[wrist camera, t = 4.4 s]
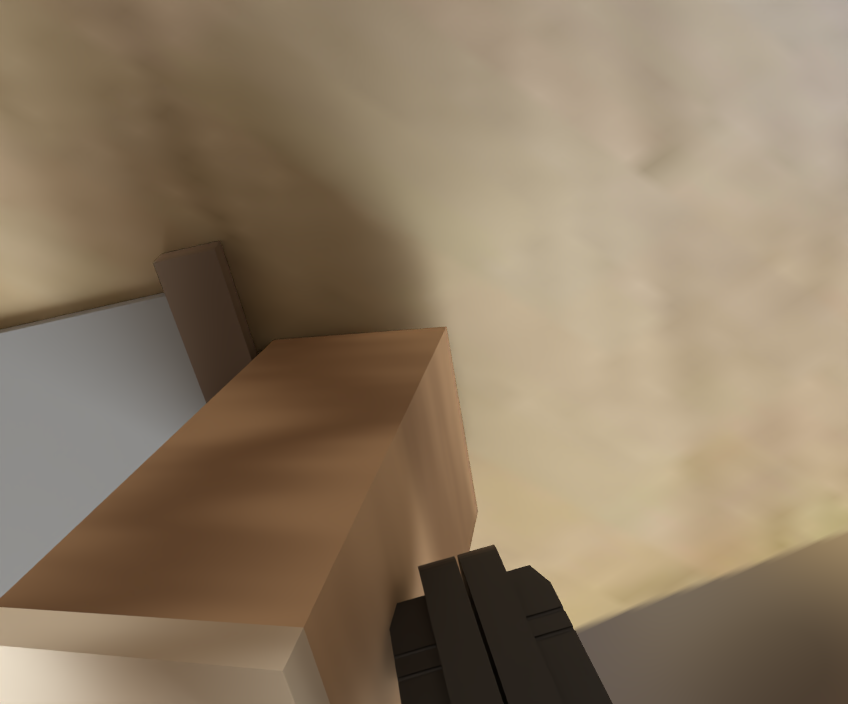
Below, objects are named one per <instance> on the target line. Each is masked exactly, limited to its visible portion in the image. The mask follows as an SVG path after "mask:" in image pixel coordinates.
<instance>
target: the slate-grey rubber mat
mask: <svg viewBox="0 0 848 704" xmlns="http://www.w3.org/2000/svg"><path fill="white" fill-rule="evenodd" d="M205 404H206V401H205V399H204V396H203V394H202V391H201V388H200V386H199V383H198V380H197V378H196V375H195V372H194V370H193V367H192V365H191V362H190V359H189V357H188V354H187V351H186V349H185V346H184V343H183V341H182V338H181V336H180V333H179V330H178V328H177V325H176V322H175V320H174V317H173V314H172V312H171V309H170V307H169V304H168V301H167V299H166V296H165V293H160V294H156V295H151V296H147V297H142V298H138V299H134V300H129V301H125V302H120V303H116V304H111V305H107V306H103V307H98V308H94V309H89V310H85V311H81V312H76V313H72V314H67V315H63V316H58V317H54V318H50V319H45V320H41V321H36V322H32V323H28V324H23V325H19V326H14V327H10V328H5V329H1V330H0V598H1V597H2V596H3V595H4V594H5V593H6V592H7V591H8V590H9V589H10V588H11V587H12V586H14V585H15V584H16V583H17V582H18V581H19V580H20V579H21V578H22V577H23V576H24V575H25V574H26V573H27V572H28V571H29V570H31V569H32V568H33V567H34V566H35V565H36V564H37V563H38V562H39V561H40V560H41V559H42V558H43V557H44V556H45V555H46V554H47V553H49V552H50V551H51V550H52V549H53V548H54V547H55V546H56V545H57V544H58V543H59V542H60V541H61V540H62V539H63V538H64V537H65V536H67V535H68V534H69V533H70V532H71V531H72V530H73V529H74V528H75V527H76V526H77V525H78V524H79V523H80V522H81V521H82V520H83V519H85V518H86V517H87V516H88V515H89V514H90V513H91V512H92V511H93V510H94V509H95V508H96V507H97V506H98V505H99V504H100V503H102V502H103V501H104V500H105V499H106V498H107V497H108V496H109V495H110V494H111V493H112V492H113V491H114V490H115V489H116V488H117V487H118V486H120V485H121V484H122V483H123V482H124V481H125V480H126V479H127V478H128V477H129V476H130V475H131V474H132V473H133V472H134V471H135V470H136V469H138V468H139V467H140V466H141V465H142V464H143V463H144V462H145V461H146V460H147V459H148V458H149V457H150V456H151V455H152V454H153V453H154V452H156V451H157V450H158V449H159V448H160V447H161V446H162V445H163V444H164V443H165V442H166V441H167V440H168V439H169V438H170V437H171V436H173V435H174V434H175V433H176V432H177V431H178V430H179V429H180V428H181V427H182V426H183V425H184V424H185V423H186V422H187V421H188V420H189V419H191V418H192V417H193V416H194V415H195V414H196V413H197V412H198V411H199V410H200V409H201V408H202V407H203V406H204V405H205Z"/></svg>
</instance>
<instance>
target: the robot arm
mask: <svg viewBox="0 0 848 704" xmlns="http://www.w3.org/2000/svg"><path fill="white" fill-rule="evenodd" d="M457 558H458V563H459V567H458V564H457V561H456V559H455V556H452V557H449V558H445V559H442V560H438V561H435V562H431V563H427V564H424V565H420V566H418V570H419V574H420V578H421V582H422V586H423V590H424V596H420V597H417V598H413V599H410V600H406V601H403V602H399V603H397V605H396V608H395V612H394V615H393V618H392V622H391V625H390V629H389V630H390V636H391V642H392V649H393V655H394V659H395V668H396V674H397V679H398V686H399V693H400V699H401V704H612V702H611V700H610V698H609V696H608V694H607V692H606V690H605V688H604V686H603V684H602V682H601V680H600V678H599V676H598V674H597V672H596V670H595V668H594V667H593V665H592V663H591V661H590V659H589V657H588V655H587V653H586V651H585V649H584V647H583V645H582V643H581V641H580V639H579V637H578V635H577V633H576V631H574V629H573V625H572V623H571V622H570V620H569V618H568V616H567V614H566V612H565V611H564V609H563V606H562V604H561V602H560V600H559V598H558V596H557V594H556V592H555V590H554V588H553V586H552V584H551V582H549V581H548V580H547V579H546V578H545V577H543V576H542V575H541V574H540V573H538V572H537V571H536V570H535V569H533V568H532V567H531V566H530V565H528V566H525V567H521V568H518V569H514V570H511V571H507V572H506V570H505V567H504V565H503V563H502V560H501V558H500V556H499V553H498V551H497V549H496V547H495V545H491V546H487V547H484V548H480V549H477V550H473V551H470V552H466V553H462V554H459V555H457ZM459 568H460V570H459Z"/></svg>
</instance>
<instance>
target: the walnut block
mask: <svg viewBox="0 0 848 704" xmlns="http://www.w3.org/2000/svg"><path fill="white" fill-rule="evenodd" d="M477 513H478V509H477V503H476V497H475V492H474V486H473V480H472V474H471V468H470V462H469V456H468V450H467V445H466V439H465V433H464V427H463V421H462V415H461V409H460V404H459V398H458V392H457V386H456V380H455V374H454V368H453V362H452V357H451V351H450V345H449V339H448V333H447V327H436V328H423V329H410V330H397V331H384V332H371V333H358V334H344V335H331V336H318V337H305V338H292V339H279V340H273V341H272V342H271V343H270V344H269V345H268V346H267V347H266V348H265V349H264V350H263V351H262V352H260V353H259V354H258V355H257V356H256V357H255V358H254V359H253V360H252V361H251V362H250V363H249V364H248V365H247V366H246V367H245V368H244V369H242V370H241V371H240V372H239V373H238V374H237V375H236V376H235V377H234V378H233V379H232V380H231V381H230V382H229V383H228V384H227V385H225V386H224V387H223V388H222V389H221V390H220V391H219V392H218V393H217V394H216V395H215V396H214V397H213V398H212V399H211V400H210V401H209V402H207V403H206V404H205V405H204V406H203V407H202V408H201V409H200V410H199V411H198V412H197V413H196V414H195V415H194V416H193V417H192V418H191V419H189V420H188V421H187V422H186V423H185V424H184V425H183V426H182V427H181V428H180V429H179V430H178V431H177V432H176V433H175V434H174V435H173V436H171V437H170V438H169V439H168V440H167V441H166V442H165V443H164V444H163V445H162V446H161V447H160V448H159V449H158V450H157V451H156V452H154V453H153V454H152V455H151V456H150V457H149V458H148V459H147V460H146V461H145V462H144V463H143V464H142V465H141V466H140V467H139V468H138V469H136V470H135V471H134V472H133V473H132V474H131V475H130V476H129V477H128V478H127V479H126V480H125V481H124V482H123V483H122V484H121V485H120V486H118V487H117V488H116V489H115V490H114V491H113V492H112V493H111V494H110V495H109V496H108V497H107V498H106V499H105V500H104V501H103V502H102V503H100V504H99V505H98V506H97V507H96V508H95V509H94V510H93V511H92V512H91V513H90V514H89V515H88V516H87V517H86V518H85V519H83V520H82V521H81V522H80V523H79V524H78V525H77V526H76V527H75V528H74V529H73V530H72V531H71V532H70V533H69V534H68V535H67V536H65V537H64V538H63V539H62V540H61V541H60V542H59V543H58V544H57V545H56V546H55V547H54V548H53V549H52V550H51V551H50V552H49V553H47V554H46V555H45V556H44V557H43V558H42V559H41V560H40V561H39V562H38V563H37V564H36V565H35V566H34V567H33V568H32V569H31V570H29V571H28V572H27V573H26V574H25V575H24V576H23V577H22V578H21V579H20V580H19V581H18V582H17V583H16V584H15V585H14V586H12V587H11V588H10V589H9V590H8V591H7V592H6V593H5V594H4V595H3V596H2V597H1V598H0V704H401V699H400V693H399V686H398V679H397V674H396V668H395V659H394V655H393V649H392V642H391V636H390V630H389V629H390V625H391V622H392V618H393V615H394V612H395V608H396V605H397V603H399V602H403V601H406V600H410V599H413V598H417V597H420V596H424V590H423V586H422V582H421V578H420V574H419V570H418V566H420V565H424V564H427V563H431V562H435V561H438V560H442V559H445V558H449V557H452V556H455V559H456V561H457V564H458V567H459V563H458V558H457V555H459V554H462V553H466V552H469V550H470V546H471V541H472V536H473V532H474V527H475V522H476V518H477ZM459 570H460V568H459Z"/></svg>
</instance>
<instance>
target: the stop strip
mask: <svg viewBox="0 0 848 704" xmlns="http://www.w3.org/2000/svg"><path fill="white" fill-rule="evenodd" d="M153 264H154V267H155V270H156V272H157V275H158V278H159V280H160V283H161V285H162V288H163V291H164V293H165V296H166V299H167V301H168V304H169V307H170V309H171V312H172V314H173V317H174V320H175V322H176V325H177V328H178V330H179V333H180V336H181V338H182V341H183V343H184V346H185V349H186V351H187V354H188V357H189V359H190V362H191V365H192V367H193V370H194V372H195V375H196V378H197V380H198V383H199V386H200V388H201V391H202V394H203V396H204V399H205V401H206V403H207V402H209V401H210V400H211V399H212V398H213V397H214V396H215V395H216V394H217V393H218V392H219V391H220V390H221V389H222V388H223V387H224V386H225V385H227V384H228V383H229V382H230V381H231V380H232V379H233V378H234V377H235V376H236V375H237V374H238V373H239V372H240V371H241V370H242V369H244V368H245V367H246V366H247V365H248V364H249V363H250V362H251V361H252V360H253V359H254V358H255V357H256V356H257V352H256V349H255V346H254V343H253V340H252V337H251V334H250V331H249V327H248V324H247V321H246V318H245V315H244V312H243V309H242V306H241V303H240V300H239V297H238V294H237V291H236V288H235V285H234V282H233V279H232V276H231V273H230V269H229V266H228V263H227V260H226V257H225V254H224V251H223V248H222V245H221V242H220V241H217V242H212V243H208V244H203V245H199V246H194V247H190V248H185V249H181V250H176V251H172V252H167V253H163V254H161V255H160V256H159V257H158V258H157V259H156V260H155V261H154V262H153Z"/></svg>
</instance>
